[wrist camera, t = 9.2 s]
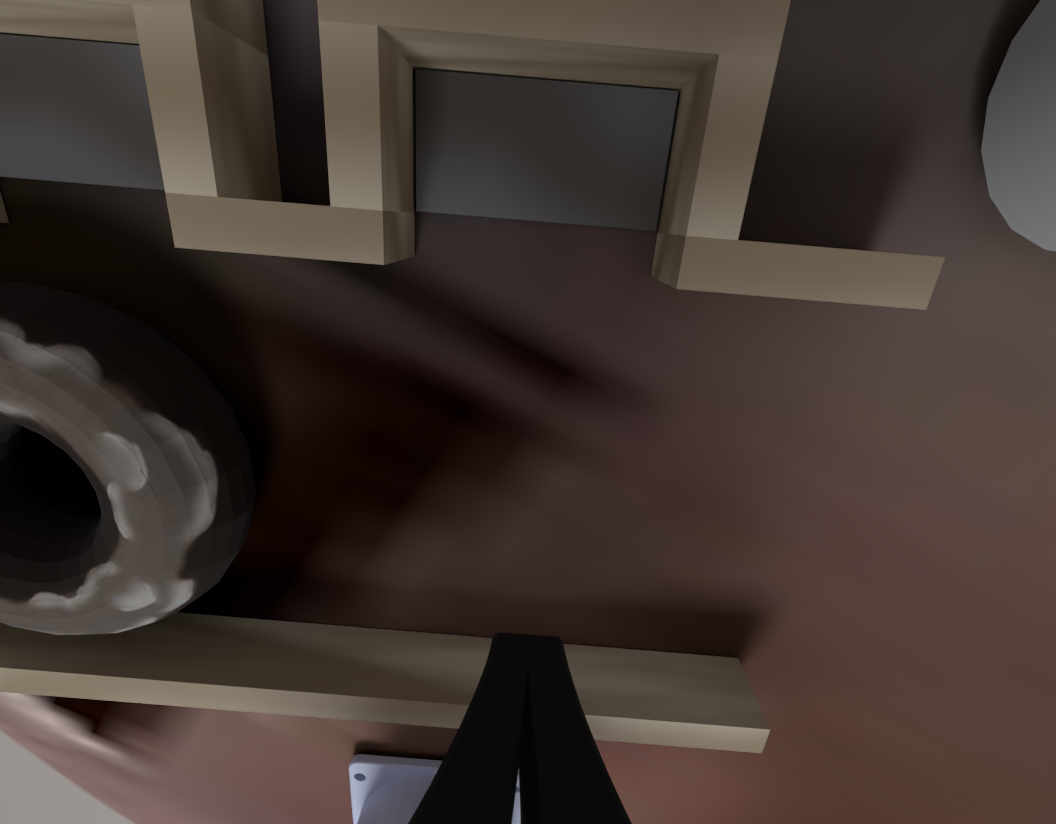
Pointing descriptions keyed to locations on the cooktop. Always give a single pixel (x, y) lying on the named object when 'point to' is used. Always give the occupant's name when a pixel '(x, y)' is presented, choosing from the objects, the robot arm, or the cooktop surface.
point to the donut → (111, 469)
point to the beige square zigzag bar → (389, 236)
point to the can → (1025, 131)
